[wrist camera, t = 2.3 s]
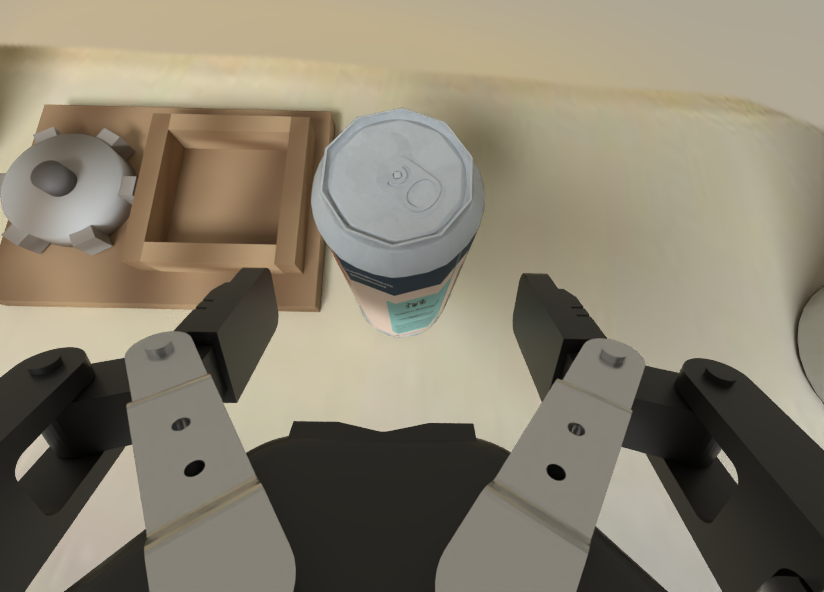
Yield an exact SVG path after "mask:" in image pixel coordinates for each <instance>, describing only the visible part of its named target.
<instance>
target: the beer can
mask: <svg viewBox="0 0 824 592" xmlns="http://www.w3.org/2000/svg"><path fill="white" fill-rule="evenodd" d="M311 205H312V212H313V217H314V220H315V223H316V226H317V228H318V231H319V232H320V234H321V235H322V237H323V239H324V240H325V242H326V243H327V245H328V246H329V247H330V249H331V251H332V253H333V255H334V257H335V259H336V261H337V263H338V265H339V267H340V269H341V270H342V272H343V274H344V276H345V278H346V280H347V282H348V284H349V286H350V288H351V290H352V292H353V294H354V296H355V298H356V300H357V302H358V303H359V306H360V308H361V311H362V313H363V315H364V317H365V318H366V320H367V321H368V322H369V323H370V324H371V325H372V326H373V327H374V328H375V329H377V330H378V331H380V332H382V333H384V334H387V335H390V336H395V337H409V336H414V335H418V334H420V333H422V332H424V331H426V330H427V329H429V328H430V327H431V326H432V325H433V324H434V323H435V322H436V321H437V319H438V318H439V316H440V315H441V313H442V311H443V310H444V307H445V305H446V303H447V300H448V298H449V296H450V293H451V291H452V289H453V286H454V284H455V282H456V279H457V277H458V275H459V272H460V270H461V268H462V265H463V263H464V261H465V258H466V256H467V254H468V251H469V249H470V247H471V244H472V242H473V240H474V237H475V235H476V233H477V230H478V228H479V226H480V222H481V218H482V214H483V211H484V186H483V182H482V178H481V174H480V171H479V169H478V167H477V166H476V164H475V163H474V161H473V157H472V155H471V154H470V153H469V151H468V150H467V149H466V148H465V146H464V145H463V144H462V143H461V141H460V140H459V139H458V137H457V136H456V135H455V134H454V132H453V131H452V130H451V128H450V127H449V126H448V125H447V123H446V122H444V121H441V120H438V119H435V118H432V117H429V116H426V115H423V114H420V113H417V112H414V111H411V110H408V109H405V108H398V109H393V110H388V111H384V112H379V113H374V114H370V115H365V116H360V117H357V118H356V119H355V120H353V121H352V122H351V123H350V124H349V125H348V126H347V127H346V128H345V129H344V130H343V131H342V132H341V133H340V134H339V135H338V136H337V137H336V138H335V139H334V140H333V141H332V142H331V143H330V144H329V145H328V146H327V147H326V148H325V153H324V156H323V158H322V160H321V162H320V163H319V166H318V168H317V171H316V174H315V176H314V181H313V186H312V195H311Z"/></svg>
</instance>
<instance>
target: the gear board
mask: <svg viewBox="0 0 824 592" xmlns="http://www.w3.org/2000/svg"><path fill="white" fill-rule="evenodd" d="M334 131H335V124H334V120H333V116H332V113H331V112H324V111H284V110H244V109H204V108H164V107H123V106H83V105H44V109H43V112H42V115H41V118H40V121H39V124H38V128H37V131H36V134H34V135H33V136H34V140H33V143H32V146H31V147H30V148H29V149H27V150H26V151H25V152H23V153H22V154H21V155H20V156H19V157H18V158H17V159H16V160H15V161H14V163H13V164H12V165H11V167H10V168H9V170H8V172H7V173H0V198H1V205H2V209H3V211H4V214H5V215H6V217H7V219H8V222H7V225H6V229H5V232H4V233H3V234H2V236H3V238H2V241H1V244H0V304H2V305H6V306H50V307H100V308H150V309H196V306H197V305H198V304H199V303H200V302H201V301H203V299H204V298H205V297H206V296H207V294H208V293H209V292H210V291H211V290H213V289H214V288H216V287H218V286H220V285H222V284H223V283H225V282H230V281H231V280H232V279H233V278H234V277H235V275H236V274H237V273H238V272H239V271H240V270H241V269H242V268H243V267H249V268H268V269H269V270H270V272H271V274H272V279H273V285H274V290H275V296H276V302H277V307H278V311H301V312H320V303H321V291H322V278H323V266H324V254H325V240H324V239H323V237H322V235H321V234H320V232H319V231H318V228H317V226H316V223H315V220H314V217H313V212H312V205H311V195H312V186H313V181H314V176H315V174H316V171H317V168H318V166H319V163H320V162H321V160H322V158H323V156H324V153H325V148H326V147H327V146H328V145H329V144H330V143H331V142H332V141H333V140H334Z"/></svg>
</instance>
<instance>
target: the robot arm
mask: <svg viewBox="0 0 824 592" xmlns="http://www.w3.org/2000/svg"><path fill="white" fill-rule="evenodd" d="M277 324H278V307H277V302H276V296H275V290H274V285H273V279H272V274H271V272H270V270H269V269H268V268H249V267H243V268H242V269H241V270H240V271H239V272H238V273H237V274H236V275H235V277H234V278H233V279H232V280H231V281H230V282H225V283H223V284H222V285H220V286H218V287H216V288H214V289H213V290H211V291H210V292H209V293H208V294H207V296H206V297H205V298H204V299H203V301H201V302H200V303H199V304H198V305H197V306H196V309H194V310H193V311H192V312H191V313H190V314H189V315H188V316H187V317H186V318H185V319H184V320H183V321H182V322H181V324H180V325H179V326H178V327H177V328H176V329H175V330H174V331H170V332H163V333H158V334H155V335H152V336H149V337H146V338H144V339H142V340H140V341H139V342H137V343H135V344H134V345H133V346H132V347H130V348H129V350H128V351H127V352H126V354H125V358H121V359H116V360H110V361H104V362H99V363H93V364H91V363H90V361H89V359H88V357H87V355H86V353H85V352H84V351H83V350H82V349H79V348H74V347H67V348H58V349H53V350H49V351H46V352H43V353H40V354H37V355H35V356H32V357H30V358H28V359H26V360H24V361H22V362H21V363H19V364H17V365H16V366H15V367H13V368H12V369H11V370H9V371H8V372H7V373H6V374H4V375H3V376H2V377H0V592H25V590H26V589H27V588H28V586H29V585H30V583H31V582H32V580H33V579H34V577H35V576H36V575H37V573H38V572H39V570H40V569H41V567H42V566H43V565H44V563H45V562H46V560H47V559H48V557H49V556H50V554H51V553H52V552H53V550H54V549H55V547H56V546H57V544H58V543H59V541H60V540H61V539H62V537H63V536H64V534H65V533H66V531H67V530H68V529H69V527H70V526H71V524H72V523H73V521H74V520H75V518H76V517H77V516H78V514H79V513H80V511H81V510H82V508H83V507H84V506H85V504H86V503H87V501H88V500H89V498H90V497H91V495H92V494H93V493H94V491H95V490H96V488H97V487H98V485H99V484H100V482H101V481H102V480H103V478H104V477H105V475H106V474H107V472H108V471H109V470H110V468H111V467H112V465H113V464H114V462H115V461H116V459H117V458H118V457H119V455H120V454H121V452H122V451H123V449H124V448H125V446H128V445H133V452H134V458H135V464H136V470H137V477H138V483H139V489H140V495H141V502H142V508H143V514H144V520H145V527H146V529H145V530H144V531H142V532H141V533H140V534H139V535H137V536H136V537H135V538H133V539H132V540H131V541H129V542H128V543H127V544H125V545H124V546H123V547H122V548H120V549H119V550H118V551H116V552H115V553H114V554H112V555H111V556H110V557H109V558H107V559H106V560H105V561H103V562H102V563H101V564H99V565H98V566H97V567H96V568H94V569H93V570H92V571H90V572H89V573H88V574H86V575H85V576H84V577H83V578H81V579H80V580H79V581H77V582H76V583H75V584H73V585H72V586H71V587H69V588H68V589H67V590H66V591H64V592H668V591H667V590H665V589H664V588H663V587H662V586H661V585H660V584H659V583H658V582H657V581H656V580H654V579H653V578H652V577H651V576H650V575H649V574H648V573H647V572H646V571H644V570H643V569H642V568H641V567H640V566H639V565H638V564H637V563H636V562H635V561H633V560H632V559H631V558H630V557H629V556H628V555H627V554H626V553H625V552H623V551H622V550H621V549H620V548H619V547H618V546H617V545H616V544H615V543H614V542H612V541H611V540H610V539H609V538H608V537H607V536H606V535H605V534H604V533H602V532H601V531H600V530H599V529H598V528H597V527H596V522H597V519H598V516H599V513H600V510H601V507H602V504H603V501H604V498H605V495H606V492H607V489H608V485H609V482H610V479H611V476H612V473H613V470H614V467H615V464H616V461H617V458H618V455H619V452H620V448H621V447H624V448H628V449H632V450H635V451H639V452H642V453H646V455H647V457H648V459H649V461H650V462H651V464H652V466H653V468H654V470H655V471H656V473H657V475H658V477H659V479H660V480H661V482H662V484H663V486H664V488H665V489H666V491H667V493H668V495H669V497H670V498H671V500H672V502H673V504H674V506H675V507H676V509H677V511H678V513H679V515H680V516H681V518H682V520H683V522H684V524H685V525H686V527H687V529H688V531H689V533H690V534H691V536H692V538H693V540H694V542H695V543H696V545H697V547H698V549H699V551H700V552H701V554H702V556H703V558H704V560H705V561H706V563H707V565H708V567H709V569H710V570H711V572H712V574H713V576H714V578H715V579H716V581H717V583H718V585H719V587H720V588H721V590H722V592H824V450H823V449H822V448H821V447H820V446H819V445H818V444H817V443H816V442H814V441H813V440H812V439H811V438H810V437H809V436H808V435H807V434H806V433H805V432H804V431H803V430H802V429H801V428H800V427H799V426H798V425H797V424H796V423H795V422H794V421H793V420H792V419H791V418H790V417H789V416H788V415H786V414H785V413H784V412H783V411H782V410H781V409H780V408H779V407H778V406H777V405H776V404H775V403H774V402H773V401H772V400H771V399H770V398H769V397H768V396H767V395H766V394H765V393H764V392H763V391H762V390H761V389H759V388H758V387H757V386H756V385H755V384H754V383H753V382H752V381H751V380H750V379H749V378H748V377H747V376H745V375H744V374H743V373H741V372H739V371H738V370H736V369H734V368H732V367H730V366H728V365H726V364H723V363H720V362H717V361H714V360H709V359H702V358H694V359H690V360H687V361H686V362H685V363H684V364H683V366H682V368H681V370H680V372H679V373H676V372H672V371H667V370H662V369H658V368H653V367H649V366H645V361H644V359H643V357H642V356H641V355H640V354H639V353H638V352H637V351H636V350H634V349H633V348H631V347H630V346H628V345H626V344H623V343H621V342H618V341H615V340H611V339H607V338H606V336H605V335H604V334H603V332H602V331H601V330H600V328H599V327H598V326H597V324H596V323H595V322H594V320H593V319H592V318H591V317H589V314H588V312H587V311H586V310H585V309H583V306H582V304H581V303H580V302H579V300H578V299H577V298H576V297H575V296H573V295H572V294H570V293H569V292H567V291H566V290H564V289H558V288H557V287H556V285H555V284H554V282H553V281H552V279H551V278H550V277H549V275H548V274H533V273H523V274H522V275H521V278H520V281H519V287H518V292H517V297H516V303H515V308H514V313H513V331H514V334H515V337H516V339H517V342H518V344H519V347H520V349H521V352H522V354H523V356H524V359H525V361H526V364H527V366H528V369H529V371H530V374H531V376H532V379H533V381H534V384H535V386H536V388H537V391H538V393H539V396H540V398H541V401H542V403H541V405H540V407H539V408H538V410H537V412H536V413H535V415H534V416H533V418H532V420H531V421H530V423H529V424H528V426H527V428H526V429H525V431H524V433H523V434H522V436H521V437H520V439H519V441H518V442H517V444H516V445H515V447H514V449H513V450H512V452H509V451H508V450H506V449H504V448H502V447H500V446H498V445H496V444H493V443H491V442H488V441H485V440H482V439H478V438H476V435H475V430H474V424H462V423H427V424H422V425H417V426H413V427H408V428H403V429H398V430H393V431H388V432H380V431H375V430H371V429H366V428H362V427H358V426H353V425H349V424H345V423H341V422H306V421H294V422H293V425H292V428H291V431H290V434H289V436H286V437H282V438H278V439H275V440H272V441H269V442H267V443H264V444H262V445H260V446H258V447H256V448H254V449H252V450H250V451H249V452H247V453H245V450H244V448H243V446H242V444H241V441H240V439H239V437H238V435H237V433H236V430H235V428H234V426H233V424H232V421H231V419H230V417H229V415H228V413H227V410H226V408H225V406H224V404H223V403H237V402H238V400H239V398H240V396H241V394H242V392H243V391H244V389H245V387H246V385H247V383H248V381H249V379H250V377H251V375H252V374H253V372H254V370H255V368H256V366H257V364H258V362H259V360H260V358H261V357H262V355H263V353H264V351H265V349H266V347H267V345H268V343H269V342H270V340H271V338H272V336H273V334H274V332H275V330H276V328H277ZM798 346H799V353H800V358H801V361H802V364H803V367H804V370H805V373H806V376H807V378H808V379H809V381H810V383H811V385H812V386H813V388H814V390H815V392H816V394H817V395H818V396H819V397H820V399H821V400H822V401H823V402H824V287H822V288H821V289H820V290H819V291H818V292H816V293H815V294H814V295H813V296H812V297H811V299H810V300H809V301H808V303H807V304H806V306H805V307H804V309H803V312H802V315H801V318H800V321H799V328H798ZM40 434H42V435H43V437H44V438H45V440H46V441H47V443H48V444H49V446H50V447H49V448H48V449H47V450H46V451H45V452H44V454H43V455H42V456H41V457H40V458H39V459H38V460H37V461H36V463H35V464H34V465H33V466H32V467H31V468H30V469H29V470H28V471H27V473H26V474H25V475H24V476H23V477H22V478H21V479H20V480H19V481H17V480H16V477H15V468H16V464H17V461H18V459H19V458H20V456H21V455H22V453H23V452H24V451H25V450H26V449H27V448H28V447H29V446H30V445H31V444H32V443H33V442H34V441H35V440H36V439H37V437H38V436H39V435H40ZM721 449H722V450H723V451H724V452H725V454H726V455H727V456H728V458H729V459H730V460H731V461H732V463H733V464H734V466H735V468H736V471H737V474H738V485H737V483H736V482H735V481H734V479H733V478H732V477H731V475H730V474H729V473H728V471H727V470H726V468H725V467H724V466H723V464H722V463H721V462H720V460H719V459H718V458H717V455H718V454H719V452H720V451H721Z"/></svg>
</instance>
